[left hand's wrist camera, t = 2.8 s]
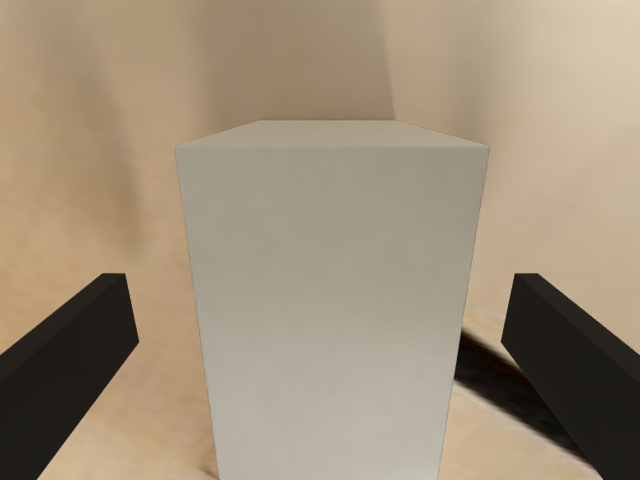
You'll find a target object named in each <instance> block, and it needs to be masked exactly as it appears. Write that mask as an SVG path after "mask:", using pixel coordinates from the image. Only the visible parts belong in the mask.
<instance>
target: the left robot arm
mask: <svg viewBox="0 0 640 480" xmlns="http://www.w3.org/2000/svg"><path fill="white" fill-rule="evenodd" d="M138 343H139V338H138V334H137V329H136V324H135V319H134V314H133V309H132V304H131V300H130V295H129V290H128V285H127V280H126V275H125V273H102V274H101V275H100V276H99V277H97V278H96V279H95V280H94V281H92V282H91V283H90V284H89V285H87V286H86V287H85V288H84V289H82V290H81V291H80V292H79V293H77V294H76V295H75V296H74V297H72V298H71V299H70V300H69V301H67V302H66V303H65V304H64V305H62V306H61V307H60V308H59V309H57V310H56V311H55V312H54V313H52V314H51V315H50V316H49V317H47V318H46V319H45V320H44V321H42V322H41V323H40V324H39V325H37V326H36V327H35V328H34V329H32V330H31V331H30V332H29V333H27V334H26V335H25V336H24V337H22V338H21V339H20V340H19V341H17V342H16V343H15V344H14V345H12V346H11V347H10V348H9V349H7V350H6V351H5V352H4V353H2V354H1V355H0V480H37V479H38V477H39V476H40V475H41V473H42V472H43V471H44V469H45V468H46V467H47V465H48V464H49V463H50V461H51V460H52V458H53V457H54V456H55V454H56V453H57V452H58V450H59V449H60V448H61V446H62V445H63V444H64V442H65V441H66V440H67V438H68V437H69V436H70V434H71V433H72V432H73V430H74V429H75V428H76V426H77V425H78V424H79V422H80V421H81V420H82V418H83V417H84V416H85V414H86V413H87V411H88V410H89V409H90V407H91V406H92V405H93V403H94V402H95V401H96V399H97V398H98V397H99V395H100V394H101V393H102V391H103V390H104V389H105V387H106V386H107V385H108V383H109V382H110V381H111V379H112V378H113V377H114V375H115V374H116V373H117V371H118V370H119V369H120V367H121V366H122V364H123V363H124V362H125V360H126V359H127V358H128V356H129V355H130V354H131V352H132V351H133V350H134V348H135V347H136V346H137V344H138ZM501 343H502V344H503V346H504V347H505V348H506V350H507V351H508V352H509V354H510V355H511V356H512V358H513V359H514V360H515V362H516V363H517V364H518V366H519V367H520V369H521V370H522V371H523V373H524V374H525V375H526V377H527V378H528V379H529V381H530V382H531V383H532V385H533V386H534V387H535V389H536V390H537V391H538V393H539V394H540V395H541V397H542V398H543V399H544V401H545V402H546V403H547V405H548V406H549V407H550V409H551V410H552V411H553V413H554V414H555V416H556V417H557V418H558V420H559V421H560V422H561V424H562V425H563V426H564V428H565V429H566V430H567V432H568V433H569V434H570V436H571V437H572V438H573V440H574V441H575V442H576V444H577V445H578V446H579V448H580V449H581V450H582V452H583V453H584V454H585V456H586V457H587V458H588V460H589V461H590V463H591V464H592V465H593V467H594V468H595V469H596V471H597V472H598V473H599V475H600V476H601V477H602V479H603V480H640V355H639V354H638V353H636V352H635V351H634V350H633V349H631V348H630V347H629V346H628V345H626V344H625V343H624V342H623V341H621V340H620V339H619V338H618V337H616V336H615V335H614V334H613V333H611V332H610V331H609V330H608V329H606V328H605V327H604V326H603V325H601V324H600V323H599V322H598V321H596V320H595V319H594V318H593V317H591V316H590V315H589V314H588V313H586V312H585V311H584V310H583V309H581V308H580V307H579V306H578V305H576V304H575V303H574V302H573V301H571V300H570V299H569V298H568V297H566V296H565V295H564V294H563V293H561V292H560V291H559V290H558V289H556V288H555V287H554V286H553V285H551V284H550V283H549V282H548V281H546V280H545V279H544V278H543V277H541V276H540V275H539V274H538V273H515V275H514V280H513V285H512V290H511V295H510V300H509V304H508V309H507V314H506V319H505V324H504V329H503V334H502V338H501Z"/></svg>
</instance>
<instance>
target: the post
mask: <svg viewBox="0 0 640 480" xmlns="http://www.w3.org/2000/svg"><path fill="white" fill-rule="evenodd" d="M175 155H176V162H177V169H178V177H179V184H180V192H181V199H182V207H183V214H184V222H185V229H186V237H187V244H188V251H189V259H190V266H191V274H192V281H193V289H194V296H195V304H196V311H197V319H198V326H199V333H200V341H201V348H202V356H203V363H204V371H205V378H206V386H207V393H208V401H209V408H210V415H211V423H212V430H213V438H214V445H215V453H216V460H217V468H218V475H219V480H438V474H439V468H440V462H441V455H442V449H443V442H444V436H445V430H446V423H447V417H448V411H449V404H450V398H451V391H452V385H453V379H454V372H455V366H456V359H457V353H458V347H459V340H460V334H461V327H462V321H463V315H464V308H465V302H466V295H467V289H468V283H469V276H470V270H471V264H472V257H473V251H474V244H475V238H476V232H477V225H478V219H479V212H480V206H481V200H482V193H483V187H484V180H485V174H486V168H487V161H488V155H489V146H487V145H484V144H481V143H477V142H473V141H470V140H466V139H462V138H459V137H455V136H451V135H448V134H444V133H440V132H437V131H433V130H429V129H426V128H422V127H418V126H415V125H411V124H407V123H404V122H400V121H396V120H258V121H255V122H252V123H248V124H245V125H242V126H238V127H235V128H232V129H228V130H225V131H222V132H218V133H215V134H212V135H208V136H205V137H202V138H198V139H195V140H192V141H188V142H185V143H182V144H178V145H176V146H175Z"/></svg>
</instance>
